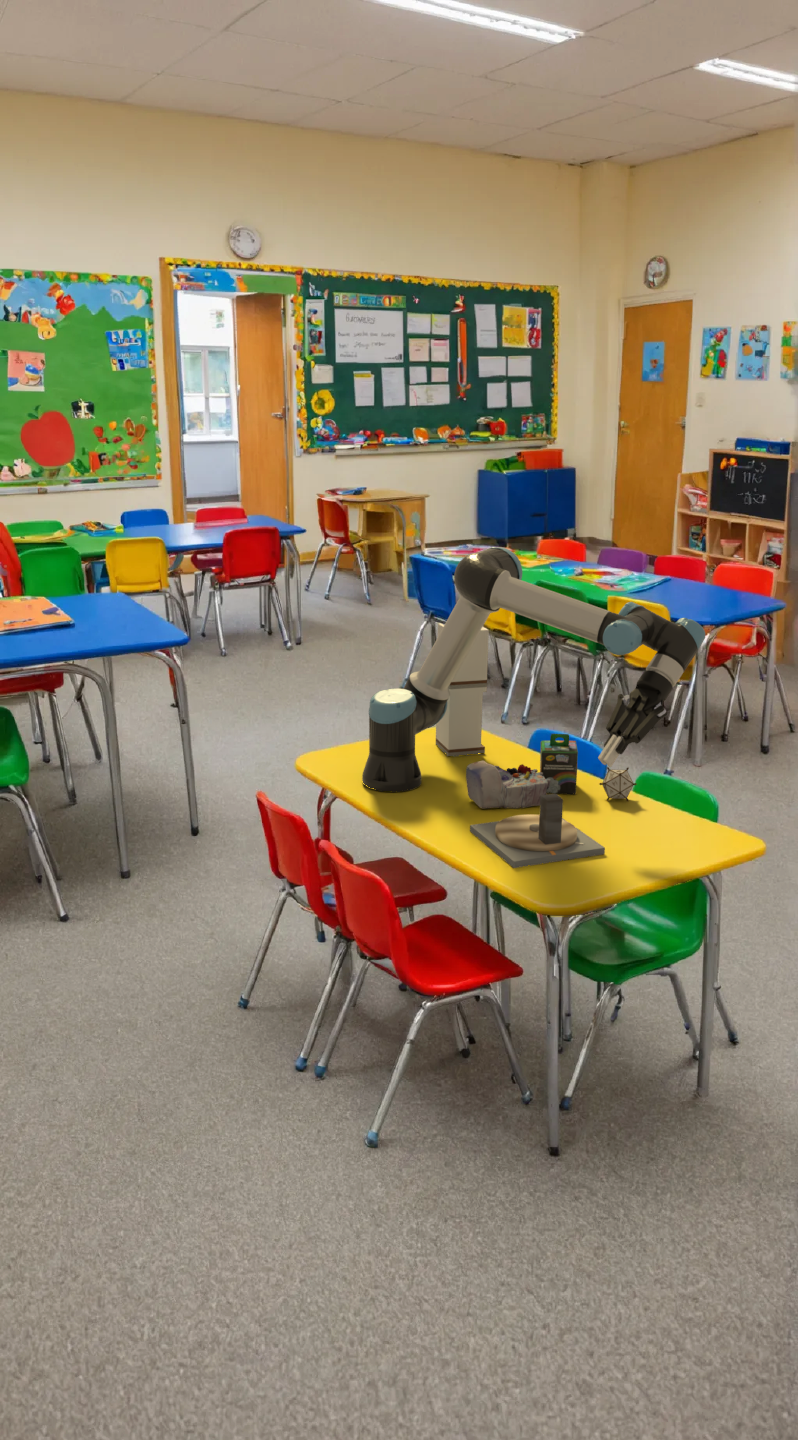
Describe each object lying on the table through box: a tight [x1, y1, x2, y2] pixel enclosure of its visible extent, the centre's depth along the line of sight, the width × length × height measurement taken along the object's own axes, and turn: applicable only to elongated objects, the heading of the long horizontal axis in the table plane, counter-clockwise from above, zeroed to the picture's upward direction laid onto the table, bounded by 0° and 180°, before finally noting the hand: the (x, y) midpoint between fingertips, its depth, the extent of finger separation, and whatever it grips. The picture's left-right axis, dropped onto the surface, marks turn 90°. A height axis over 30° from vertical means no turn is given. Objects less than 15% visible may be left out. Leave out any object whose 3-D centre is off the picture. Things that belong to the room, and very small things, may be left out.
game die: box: [599, 766, 637, 802], centre depth 275 cm, size 9×8×10 cm
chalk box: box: [539, 733, 579, 796], centre depth 281 cm, size 9×9×15 cm
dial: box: [495, 793, 578, 851], centre depth 247 cm, size 18×18×12 cm
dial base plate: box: [469, 817, 606, 869], centre depth 249 cm, size 22×22×2 cm
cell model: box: [465, 760, 551, 809], centre depth 272 cm, size 13×11×20 cm
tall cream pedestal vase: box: [435, 622, 490, 757], centre depth 309 cm, size 11×11×35 cm
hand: (604, 762), depth 248 cm, fingers closed
